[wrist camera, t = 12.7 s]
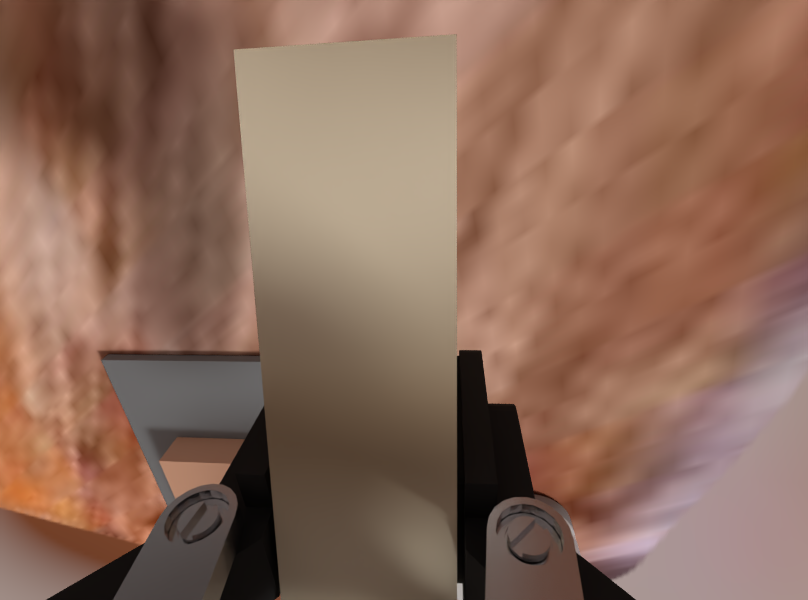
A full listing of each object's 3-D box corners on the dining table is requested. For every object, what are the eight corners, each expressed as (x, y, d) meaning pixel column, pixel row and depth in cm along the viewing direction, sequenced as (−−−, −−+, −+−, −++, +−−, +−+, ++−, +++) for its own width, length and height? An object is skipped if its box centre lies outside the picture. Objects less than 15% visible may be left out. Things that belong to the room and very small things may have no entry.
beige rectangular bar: (293, 130, 11) (164, 54, 6) (494, 121, 10) (536, 28, 5) (332, 734, 14) (271, 1005, 9) (486, 750, 14) (506, 1046, 9)
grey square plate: (108, 354, 26) (100, 360, 26) (363, 356, 25) (362, 363, 24) (182, 523, 34) (178, 530, 33) (384, 534, 32) (383, 541, 31)
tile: (158, 461, 26) (194, 542, 30) (316, 466, 25) (333, 550, 29) (177, 436, 28) (209, 515, 32) (324, 441, 27) (340, 522, 31)
